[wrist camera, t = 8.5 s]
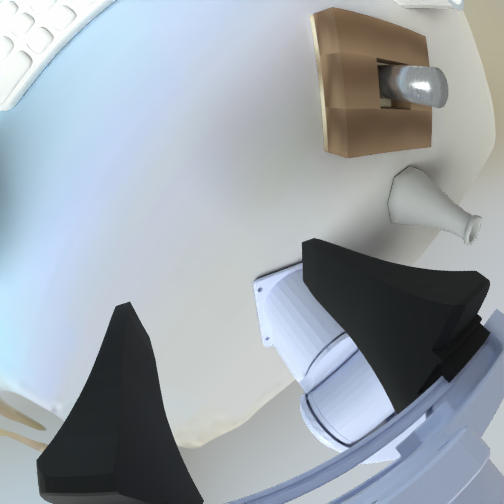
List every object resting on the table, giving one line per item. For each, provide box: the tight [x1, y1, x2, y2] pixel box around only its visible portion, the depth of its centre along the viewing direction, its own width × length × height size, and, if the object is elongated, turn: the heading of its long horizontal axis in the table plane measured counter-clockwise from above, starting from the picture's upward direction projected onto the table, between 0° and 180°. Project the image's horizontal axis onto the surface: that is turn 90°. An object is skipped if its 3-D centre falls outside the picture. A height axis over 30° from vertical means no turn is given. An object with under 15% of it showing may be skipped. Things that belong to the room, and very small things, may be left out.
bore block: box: [310, 7, 432, 158], centre depth 18 cm, size 12×12×3 cm
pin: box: [377, 65, 448, 108], centre depth 16 cm, size 3×3×7 cm
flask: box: [388, 166, 481, 245], centre depth 24 cm, size 7×7×10 cm
